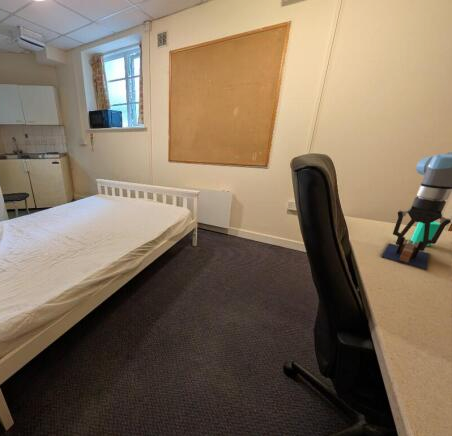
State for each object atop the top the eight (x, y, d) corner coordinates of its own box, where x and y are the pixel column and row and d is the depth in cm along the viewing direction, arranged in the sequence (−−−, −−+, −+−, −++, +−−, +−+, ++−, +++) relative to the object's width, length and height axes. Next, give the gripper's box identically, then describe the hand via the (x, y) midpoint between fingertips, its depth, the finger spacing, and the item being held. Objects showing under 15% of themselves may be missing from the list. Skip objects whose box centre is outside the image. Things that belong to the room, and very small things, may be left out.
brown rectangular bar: (410, 263, 83) (415, 253, 81) (395, 259, 85) (400, 249, 84) (414, 251, 91) (418, 242, 89) (400, 248, 94) (404, 239, 92)
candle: (411, 239, 104) (421, 215, 100) (430, 243, 100) (442, 219, 95) (409, 242, 101) (420, 218, 96) (429, 247, 96) (441, 222, 92)
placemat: (388, 244, 100) (389, 243, 99) (428, 254, 91) (429, 253, 91) (381, 257, 89) (381, 256, 89) (426, 270, 80) (426, 269, 80)
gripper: (468, 201, 76) (438, 260, 84) (399, 192, 88) (378, 244, 97) (469, 205, 72) (438, 267, 80) (396, 195, 84) (375, 249, 92)
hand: (405, 254), depth 88 cm, fingers closed on brown rectangular bar, 4 cm apart
